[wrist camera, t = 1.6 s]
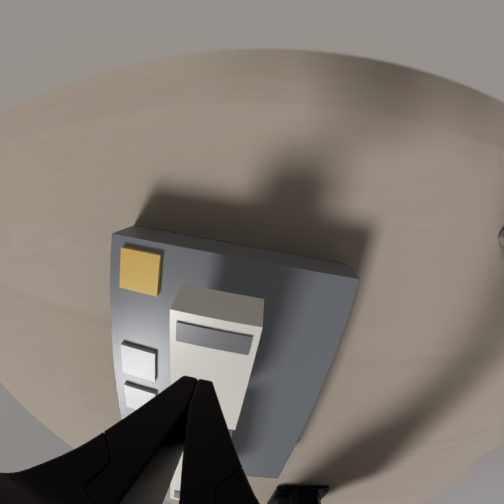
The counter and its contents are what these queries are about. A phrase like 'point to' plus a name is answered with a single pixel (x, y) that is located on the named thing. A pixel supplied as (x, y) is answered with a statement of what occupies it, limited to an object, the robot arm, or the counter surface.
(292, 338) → the switch unit
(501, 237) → the coffee box
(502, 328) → the counter surface
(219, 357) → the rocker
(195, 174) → the counter surface
